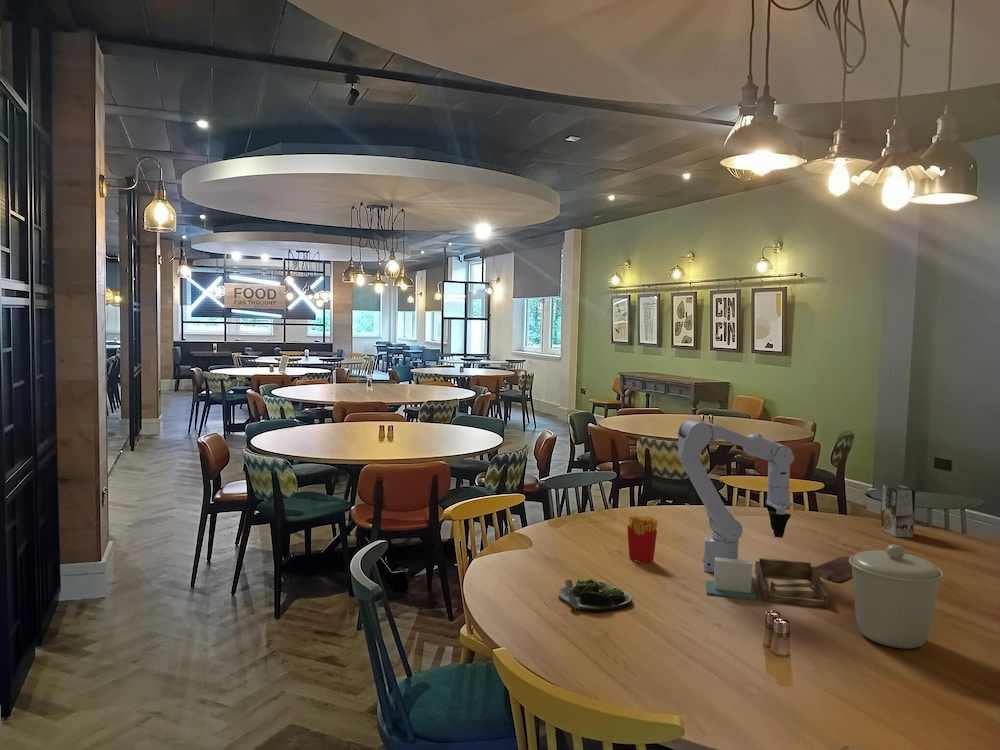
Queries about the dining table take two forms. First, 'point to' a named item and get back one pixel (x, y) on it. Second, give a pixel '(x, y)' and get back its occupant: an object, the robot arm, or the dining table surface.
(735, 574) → the grey sheet
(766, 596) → the rack
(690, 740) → the dining table surface
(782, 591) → the offcut block small
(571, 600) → the salad plate
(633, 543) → the french fries
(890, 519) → the coffee box
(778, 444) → the robot arm
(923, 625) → the canister
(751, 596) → the mat
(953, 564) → the dining table surface
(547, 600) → the dining table surface
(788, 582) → the offcut block large
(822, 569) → the wooden tablet
